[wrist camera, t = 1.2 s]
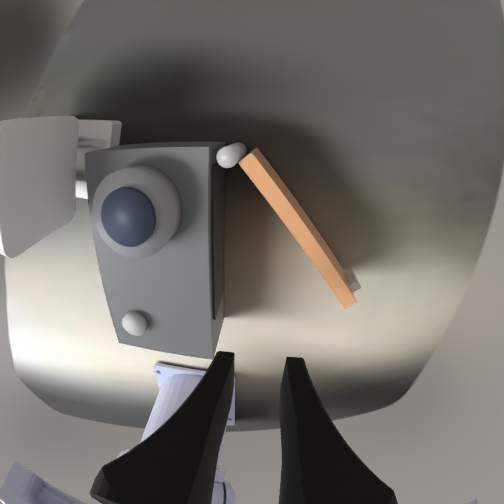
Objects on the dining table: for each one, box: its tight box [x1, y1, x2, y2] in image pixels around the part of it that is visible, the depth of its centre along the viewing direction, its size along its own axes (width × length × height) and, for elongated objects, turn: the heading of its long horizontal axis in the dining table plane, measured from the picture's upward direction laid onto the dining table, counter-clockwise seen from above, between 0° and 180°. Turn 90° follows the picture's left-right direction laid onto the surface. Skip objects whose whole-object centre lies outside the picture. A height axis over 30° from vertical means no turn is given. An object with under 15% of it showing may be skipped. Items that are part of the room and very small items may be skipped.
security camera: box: [0, 116, 122, 258], centre depth 12 cm, size 6×7×10 cm
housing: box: [84, 142, 226, 359], centre depth 16 cm, size 13×7×6 cm, turn 177°
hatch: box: [216, 142, 361, 308], centre depth 15 cm, size 11×2×4 cm, turn 37°
